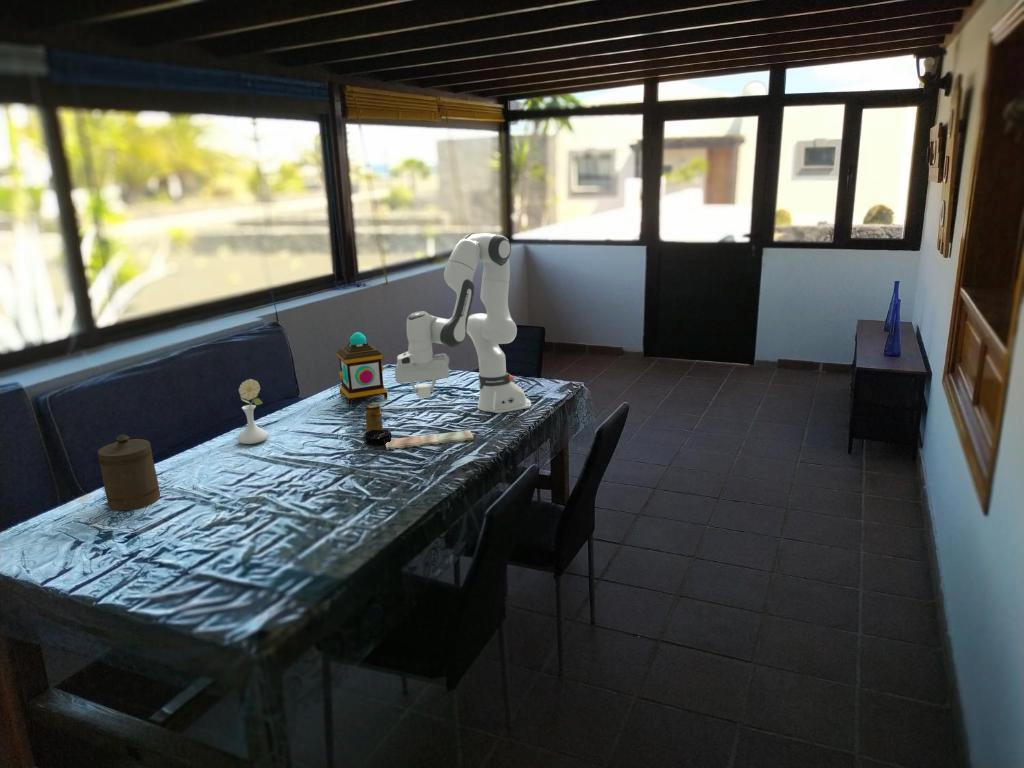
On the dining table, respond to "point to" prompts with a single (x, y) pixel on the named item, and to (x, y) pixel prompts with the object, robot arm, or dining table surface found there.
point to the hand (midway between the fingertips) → (423, 391)
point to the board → (429, 439)
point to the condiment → (373, 417)
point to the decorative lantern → (360, 369)
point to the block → (423, 390)
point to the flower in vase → (251, 414)
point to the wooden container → (129, 474)
